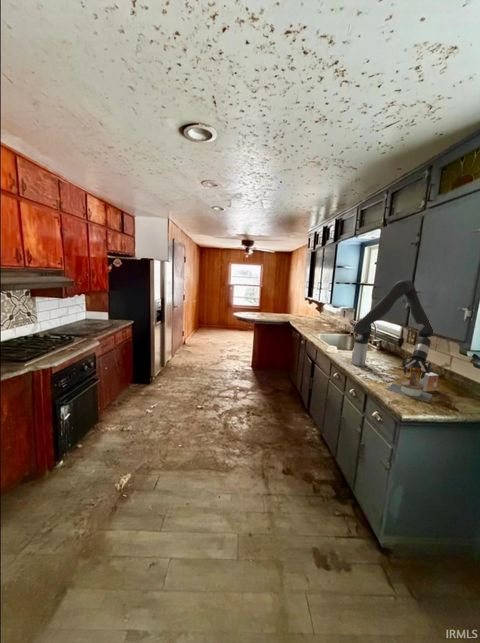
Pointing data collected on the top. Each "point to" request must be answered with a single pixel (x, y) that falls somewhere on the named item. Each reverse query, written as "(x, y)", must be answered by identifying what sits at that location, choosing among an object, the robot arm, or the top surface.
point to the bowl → (411, 391)
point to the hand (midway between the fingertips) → (413, 375)
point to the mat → (397, 389)
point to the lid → (412, 383)
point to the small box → (429, 381)
